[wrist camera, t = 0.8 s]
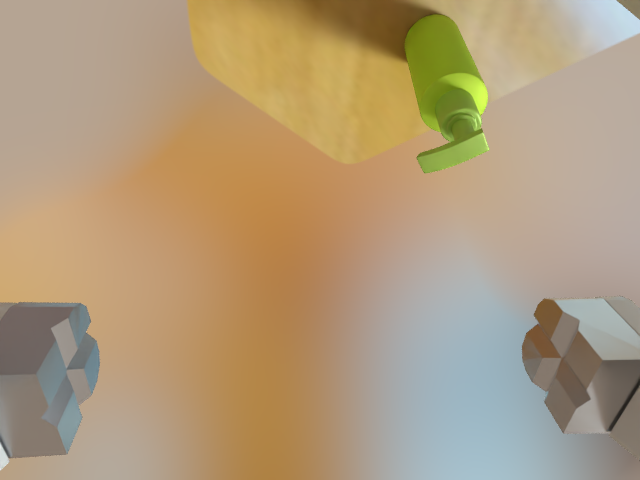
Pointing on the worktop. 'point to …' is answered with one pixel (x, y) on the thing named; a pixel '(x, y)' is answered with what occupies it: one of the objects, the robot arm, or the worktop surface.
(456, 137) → the soap dispenser
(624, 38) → the worktop surface
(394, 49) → the worktop surface
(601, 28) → the worktop surface
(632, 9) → the spray can
